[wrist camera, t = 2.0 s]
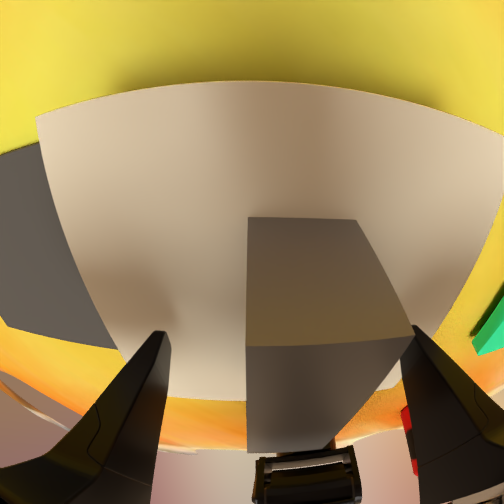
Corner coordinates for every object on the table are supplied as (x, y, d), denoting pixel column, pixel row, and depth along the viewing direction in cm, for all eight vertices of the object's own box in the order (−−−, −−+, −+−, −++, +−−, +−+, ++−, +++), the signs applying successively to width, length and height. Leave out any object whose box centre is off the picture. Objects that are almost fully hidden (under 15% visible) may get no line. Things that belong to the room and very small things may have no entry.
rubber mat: (138, 347, 20) (137, 352, 19) (9, 322, 20) (7, 326, 19) (69, 134, 10) (63, 137, 10) (-58, 180, 10) (-62, 183, 10)
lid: (389, 374, 15) (407, 443, 11) (149, 379, 15) (134, 453, 11) (499, 133, 6) (599, 201, 2) (54, 109, 6) (-72, 176, 2)
